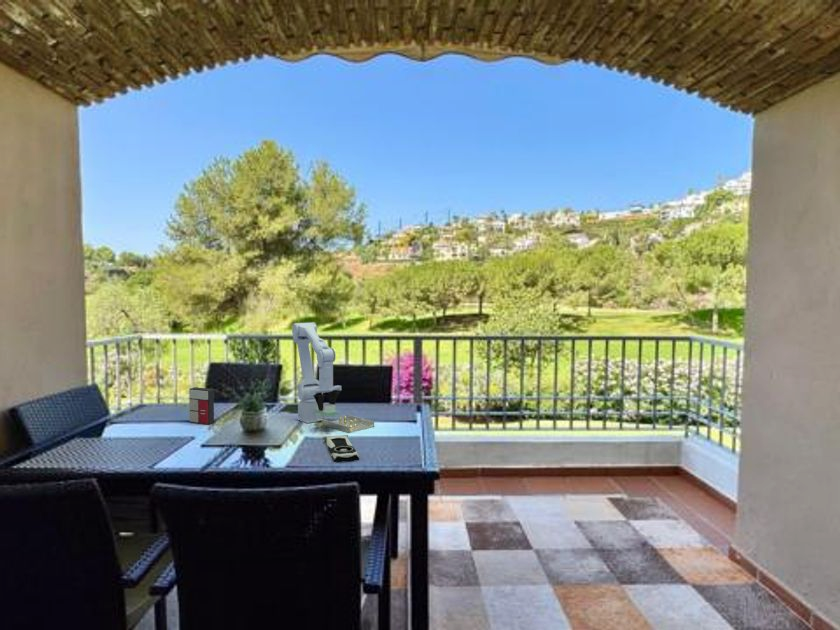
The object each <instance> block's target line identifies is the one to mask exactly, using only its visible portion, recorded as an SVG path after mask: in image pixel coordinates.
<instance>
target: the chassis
mask: <svg viewBox="0 0 840 630" xmlns="http://www.w3.org/2000/svg"><path fill="white" fill-rule="evenodd" d="M322 419H323V420H322V421H321V422H322V423H321V425H322V426H325V427H327V428H331V429H334V430H337V431H340V432H343V433H347V434H349V433H354V432H355V433H356V432H358V431H362V430H367V429H371V427H372V428H374V427H375V421H373V420H371V419H367V418H363V417H359V416H356V415H352V414H348V413H346V415H345V416H343V417H342V416H340V417H339V419H337V420H328V419H324V418H322Z"/></svg>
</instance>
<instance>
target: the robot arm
mask: <svg viewBox="0 0 840 630" xmlns="http://www.w3.org/2000/svg"><path fill="white" fill-rule="evenodd" d="M317 331H318V327H317V324H316V322H314V321H312V322H294V323H293V324H292V329H291V333H292V338H293V343H295V344H296V345H297V349H298V350H297V351H298V355H299V363H300V369H301V375H302V380H301V381H300V383H299V384H298V385H297V396H298V399H299V400H300V401H299V402H298V405H297V418H296V419H298V420H297V421H299V420H300V422H303V423H306V424H312V423H316V422H320V421H321V422H322V420H323V419H324V418H320V414H319V413H316V412H314V409H317V405H318V409H319V411H323V403H324V400H325V397H326V396H325V393H327V395H328V400H329V402H328V403H330V404H333V405H335V406H336V401H337V398H338V397H339V395H340V392H341V391H342V385H334V362H335V361H336V352H335V349H334V348H333V347H329V346H328V345H327V343H326V342H325V340H324V339H323V338H320V336H319V334H318V332H317ZM309 344H311V348H312V349H313V351H314V353H315V354H316V360H317V366H318V370H319V371H318V379H317V378H315V374H314V369H313V364H312V357H311V356H312V355H311V351H310V345H309Z"/></svg>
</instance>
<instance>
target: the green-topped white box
mask: <svg viewBox="0 0 840 630" xmlns="http://www.w3.org/2000/svg"><path fill="white" fill-rule="evenodd" d="M314 412H316V413H319V415H324V416H327V417H331V416H337V415H339V410H336V404H335V405H333V404H330V403H329V402H323V411H319V409H318V405H317V409H314Z"/></svg>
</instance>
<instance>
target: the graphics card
mask: <svg viewBox="0 0 840 630" xmlns="http://www.w3.org/2000/svg"><path fill="white" fill-rule="evenodd" d="M323 440H324V441H323ZM325 443H326V444H325ZM323 444H324V445H325V446H326V449H327V451H328V450H329V451H328V453H329V454H330V457H331V458H333V459H332V460H333V463H334V462H336V463H343V462H342V461H348V462H355V461H354V460H359V461H360V455H359V453H358V451H357V450H356V448H355V447H354V446H353V444H352V443H351V441H350V439H349V435H348V434H342V435H340V434H339V435H329V436H324V437H322V445H323Z"/></svg>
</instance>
